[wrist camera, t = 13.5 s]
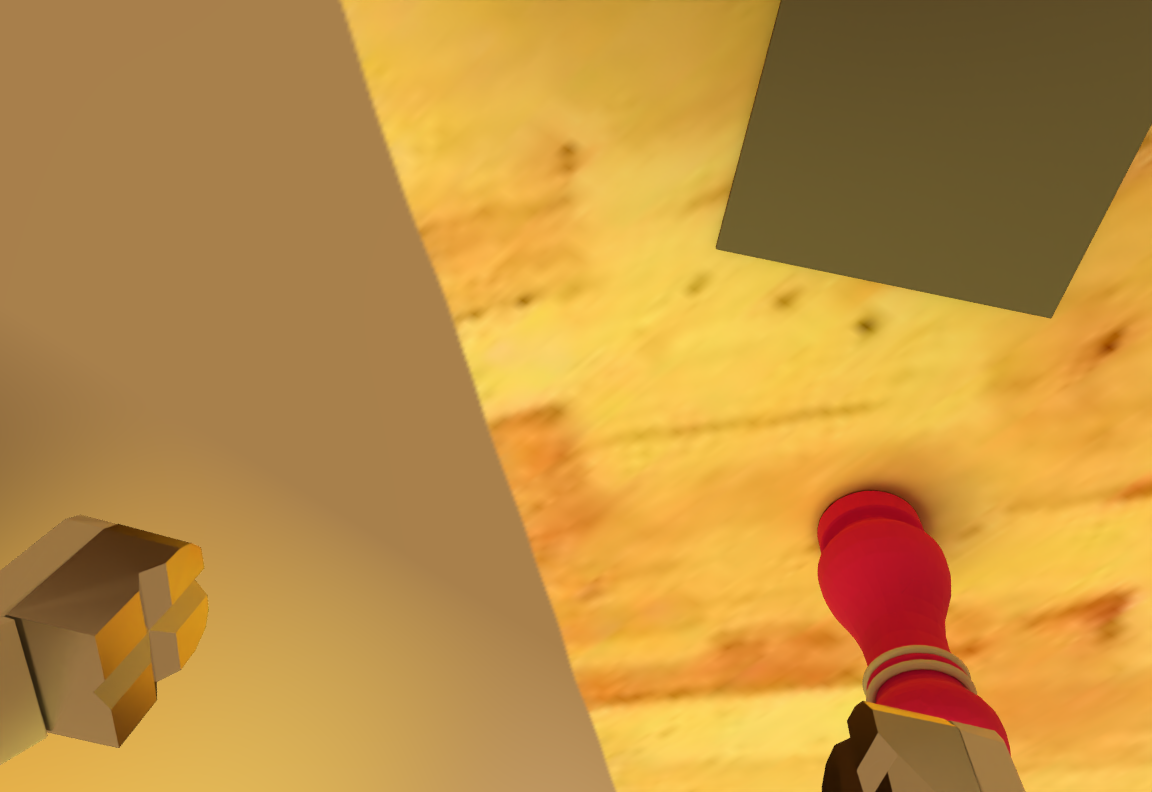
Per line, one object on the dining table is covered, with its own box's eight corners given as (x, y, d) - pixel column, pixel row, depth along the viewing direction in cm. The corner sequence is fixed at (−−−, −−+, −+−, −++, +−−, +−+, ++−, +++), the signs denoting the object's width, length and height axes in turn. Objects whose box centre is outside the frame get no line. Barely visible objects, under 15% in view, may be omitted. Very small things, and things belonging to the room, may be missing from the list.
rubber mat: (1249, -79, 31) (1257, -80, 31) (1047, 315, 40) (1051, 318, 39) (821, -154, 32) (823, -156, 32) (715, 246, 41) (716, 249, 40)
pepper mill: (951, 507, 46) (1103, 816, 28) (889, 588, 49) (991, 906, 32) (844, 466, 46) (931, 751, 28) (789, 549, 49) (836, 849, 32)
